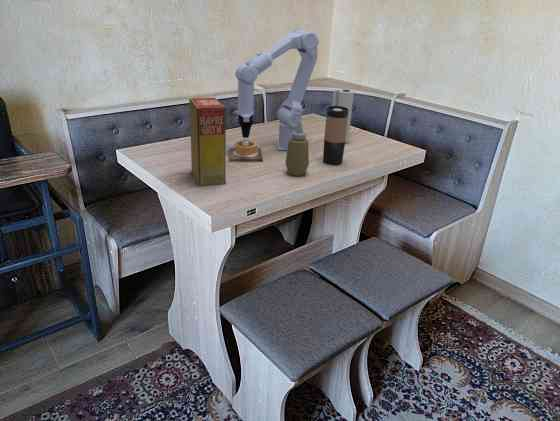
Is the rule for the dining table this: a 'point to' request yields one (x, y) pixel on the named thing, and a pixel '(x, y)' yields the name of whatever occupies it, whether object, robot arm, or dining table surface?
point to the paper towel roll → (344, 105)
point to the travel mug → (335, 135)
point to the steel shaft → (246, 143)
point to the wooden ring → (245, 148)
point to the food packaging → (208, 140)
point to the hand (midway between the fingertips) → (245, 135)
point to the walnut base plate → (245, 156)
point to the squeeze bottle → (297, 152)
